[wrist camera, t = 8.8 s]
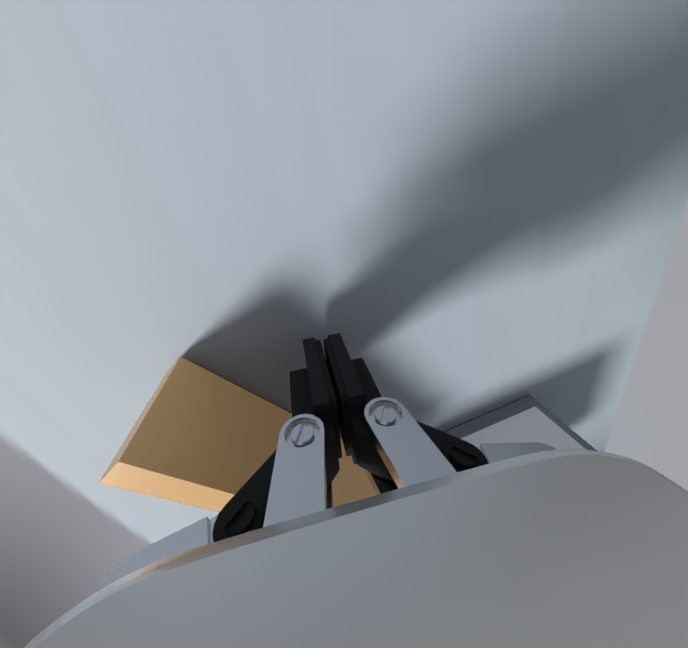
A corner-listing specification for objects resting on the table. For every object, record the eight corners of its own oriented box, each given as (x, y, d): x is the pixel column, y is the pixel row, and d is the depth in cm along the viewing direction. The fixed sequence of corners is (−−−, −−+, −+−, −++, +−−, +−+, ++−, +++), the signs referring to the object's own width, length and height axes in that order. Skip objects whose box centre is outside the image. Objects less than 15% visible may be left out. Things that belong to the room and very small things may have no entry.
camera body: (338, 536, 22) (360, 660, 16) (295, 483, 17) (303, 630, 12) (524, 454, 23) (608, 545, 17) (530, 382, 18) (650, 473, 12)
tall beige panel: (377, 454, 18) (410, 545, 13) (356, 471, 18) (382, 565, 13) (183, 353, 11) (118, 464, 7) (157, 383, 11) (79, 507, 7)
